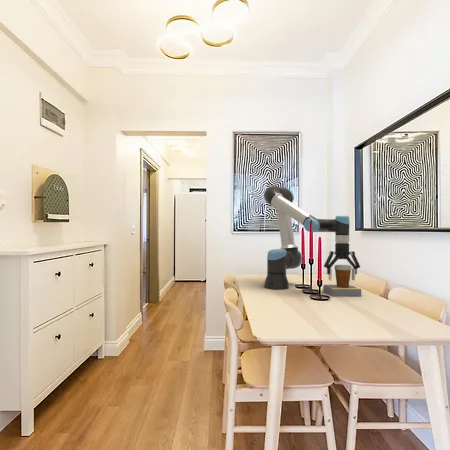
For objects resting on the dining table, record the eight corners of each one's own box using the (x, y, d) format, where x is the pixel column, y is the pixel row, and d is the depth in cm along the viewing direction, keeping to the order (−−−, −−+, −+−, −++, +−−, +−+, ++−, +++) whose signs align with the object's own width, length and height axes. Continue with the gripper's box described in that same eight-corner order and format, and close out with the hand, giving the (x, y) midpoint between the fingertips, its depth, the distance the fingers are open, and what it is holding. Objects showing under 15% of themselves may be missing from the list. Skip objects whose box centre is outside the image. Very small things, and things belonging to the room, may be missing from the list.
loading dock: (332, 296, 179) (332, 288, 179) (323, 291, 193) (323, 284, 193) (361, 296, 180) (361, 288, 180) (349, 291, 194) (350, 284, 194)
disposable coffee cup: (330, 285, 189) (330, 264, 189) (342, 284, 193) (343, 264, 193) (342, 288, 180) (342, 266, 180) (355, 287, 184) (355, 266, 184)
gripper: (323, 242, 182) (322, 281, 182) (366, 243, 184) (366, 281, 184) (318, 242, 190) (318, 279, 189) (360, 242, 191) (360, 279, 191)
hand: (341, 280), depth 186 cm, fingers open, 13 cm apart
